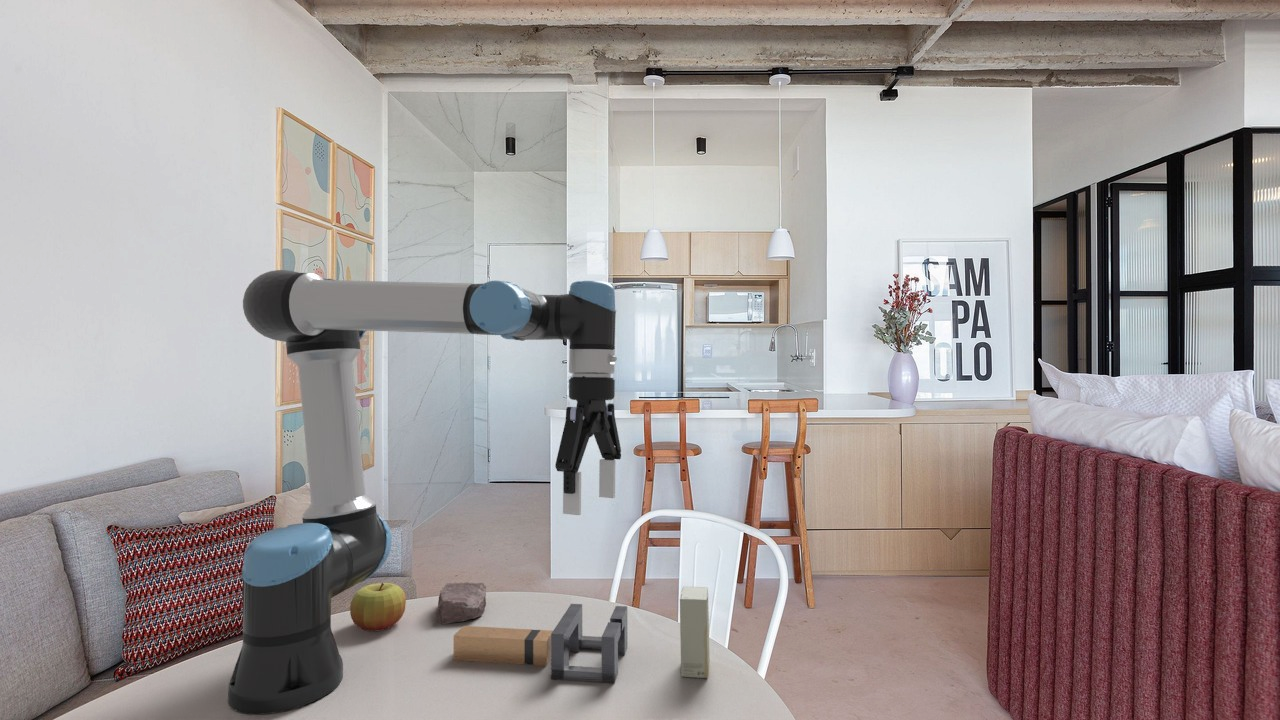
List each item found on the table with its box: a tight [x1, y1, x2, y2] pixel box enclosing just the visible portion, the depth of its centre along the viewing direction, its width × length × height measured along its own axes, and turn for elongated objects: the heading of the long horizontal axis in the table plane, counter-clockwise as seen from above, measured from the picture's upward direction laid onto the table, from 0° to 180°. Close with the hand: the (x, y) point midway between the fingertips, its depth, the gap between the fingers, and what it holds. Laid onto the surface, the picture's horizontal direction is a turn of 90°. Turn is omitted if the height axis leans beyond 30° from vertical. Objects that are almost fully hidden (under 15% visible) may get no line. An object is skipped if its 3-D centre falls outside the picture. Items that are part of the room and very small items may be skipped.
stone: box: [436, 581, 487, 625], centre depth 123 cm, size 12×9×5 cm
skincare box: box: [679, 586, 711, 679], centre depth 99 cm, size 6×4×12 cm
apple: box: [349, 582, 407, 632], centre depth 116 cm, size 10×10×8 cm
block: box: [453, 625, 553, 667], centre depth 103 cm, size 16×4×4 cm, turn 82°
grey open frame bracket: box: [550, 603, 628, 684], centre depth 101 cm, size 10×12×7 cm
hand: (590, 505), depth 101 cm, fingers open, 13 cm apart
